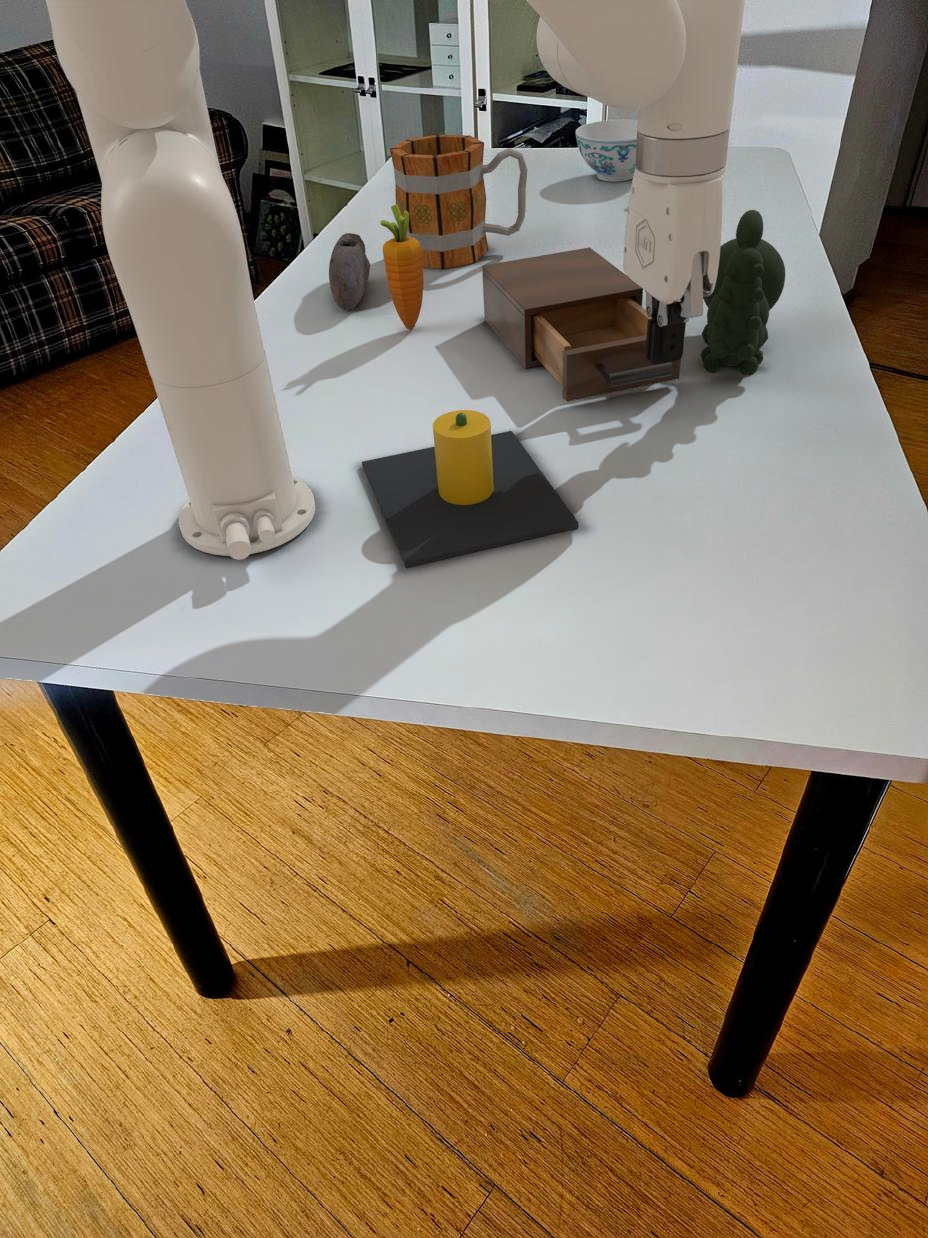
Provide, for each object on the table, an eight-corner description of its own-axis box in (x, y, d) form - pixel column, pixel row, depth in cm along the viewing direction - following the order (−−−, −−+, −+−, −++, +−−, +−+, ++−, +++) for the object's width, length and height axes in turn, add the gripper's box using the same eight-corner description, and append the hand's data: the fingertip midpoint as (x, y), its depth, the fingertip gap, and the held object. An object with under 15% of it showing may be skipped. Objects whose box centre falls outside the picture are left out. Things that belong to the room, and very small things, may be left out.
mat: (578, 527, 79) (578, 522, 79) (405, 567, 76) (404, 562, 76) (511, 435, 92) (511, 430, 92) (362, 466, 90) (361, 461, 89)
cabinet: (639, 346, 107) (643, 287, 102) (525, 368, 104) (524, 309, 100) (588, 301, 118) (590, 246, 114) (484, 320, 116) (481, 265, 111)
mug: (397, 271, 131) (385, 160, 121) (403, 241, 141) (392, 137, 132) (530, 263, 130) (529, 151, 120) (526, 234, 140) (525, 128, 131)
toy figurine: (769, 412, 96) (777, 303, 113) (801, 237, 83) (806, 142, 99) (680, 405, 99) (701, 299, 115) (698, 234, 85) (719, 142, 101)
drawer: (697, 394, 95) (703, 347, 91) (581, 419, 92) (582, 371, 89) (623, 330, 109) (626, 286, 105) (520, 349, 106) (519, 306, 103)
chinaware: (606, 193, 154) (608, 144, 149) (558, 175, 164) (559, 129, 159) (675, 177, 159) (679, 129, 154) (624, 160, 169) (627, 115, 164)
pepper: (500, 498, 83) (497, 420, 77) (447, 509, 82) (440, 432, 76) (483, 470, 86) (479, 395, 81) (432, 481, 85) (425, 406, 80)
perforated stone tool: (363, 319, 118) (355, 266, 114) (324, 321, 119) (315, 268, 114) (375, 278, 130) (369, 229, 125) (340, 280, 130) (332, 231, 125)
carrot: (424, 338, 112) (412, 213, 103) (387, 337, 113) (371, 213, 104) (433, 322, 116) (422, 200, 106) (396, 321, 117) (383, 201, 107)
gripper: (603, 140, 79) (597, 337, 91) (682, 181, 68) (663, 399, 80) (679, 128, 81) (663, 324, 93) (769, 167, 70) (737, 383, 82)
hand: (663, 358), depth 86 cm, fingers closed
